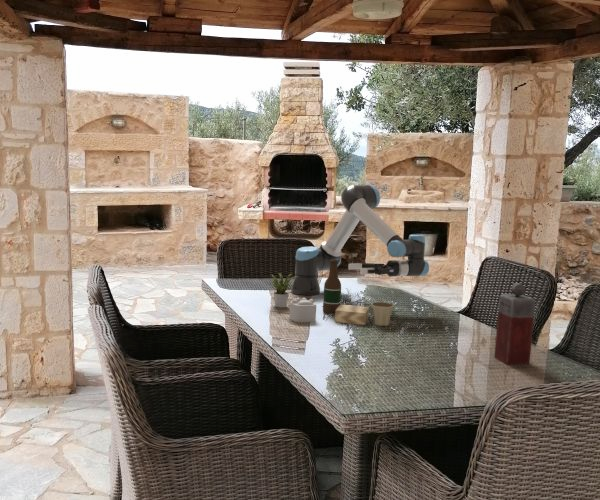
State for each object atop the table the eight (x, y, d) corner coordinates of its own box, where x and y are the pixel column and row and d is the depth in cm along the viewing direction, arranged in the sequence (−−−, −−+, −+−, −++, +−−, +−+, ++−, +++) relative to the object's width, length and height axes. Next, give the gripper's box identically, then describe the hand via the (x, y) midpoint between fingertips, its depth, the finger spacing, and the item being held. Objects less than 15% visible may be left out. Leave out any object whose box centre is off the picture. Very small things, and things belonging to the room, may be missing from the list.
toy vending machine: (512, 355, 245) (519, 280, 241) (529, 364, 234) (537, 285, 230) (490, 355, 243) (497, 279, 239) (506, 364, 232) (513, 285, 228)
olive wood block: (334, 321, 283) (335, 310, 283) (339, 315, 296) (339, 304, 295) (365, 324, 281) (366, 313, 280) (368, 318, 293) (369, 307, 293)
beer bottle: (340, 314, 298) (343, 261, 295) (322, 313, 298) (325, 260, 295) (339, 310, 306) (342, 258, 303) (322, 309, 306) (325, 258, 303)
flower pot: (391, 328, 277) (393, 307, 276) (369, 325, 279) (370, 305, 278) (393, 322, 287) (394, 303, 285) (371, 320, 288) (372, 301, 287)
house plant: (300, 304, 316) (301, 270, 314) (297, 310, 302) (298, 274, 300) (270, 302, 317) (271, 268, 315) (266, 308, 303) (267, 272, 301)
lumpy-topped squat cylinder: (294, 322, 279) (295, 302, 278) (286, 315, 291) (287, 296, 290) (317, 322, 282) (318, 302, 281) (308, 315, 294) (309, 295, 293)
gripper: (408, 280, 298) (365, 281, 291) (384, 272, 321) (343, 272, 315) (409, 264, 297) (366, 264, 290) (385, 256, 320) (344, 257, 314)
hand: (354, 268), depth 302 cm, fingers open, 13 cm apart
